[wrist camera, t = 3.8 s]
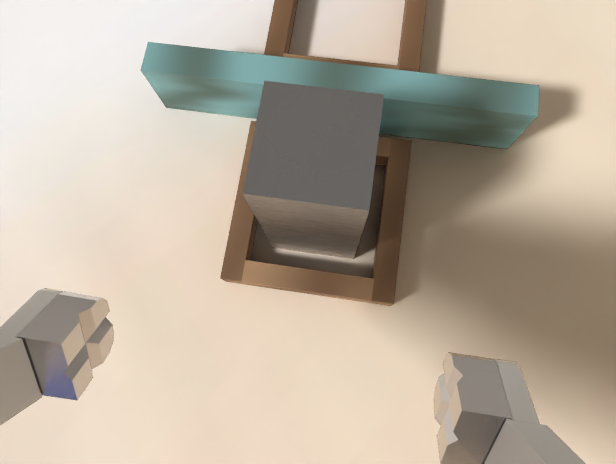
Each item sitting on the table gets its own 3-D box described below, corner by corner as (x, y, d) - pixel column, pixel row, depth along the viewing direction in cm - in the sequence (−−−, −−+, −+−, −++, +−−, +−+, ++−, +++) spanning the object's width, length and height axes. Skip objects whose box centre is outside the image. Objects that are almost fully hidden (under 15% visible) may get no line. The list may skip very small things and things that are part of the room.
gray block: (273, 247, 23) (242, 193, 14) (286, 172, 24) (264, 80, 15) (353, 258, 22) (369, 210, 14) (363, 182, 23) (383, 94, 15)
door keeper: (127, 266, 23) (92, 253, 19) (204, -50, 27) (186, -107, 23) (497, 321, 21) (529, 318, 18) (516, -20, 26) (545, -75, 22)
